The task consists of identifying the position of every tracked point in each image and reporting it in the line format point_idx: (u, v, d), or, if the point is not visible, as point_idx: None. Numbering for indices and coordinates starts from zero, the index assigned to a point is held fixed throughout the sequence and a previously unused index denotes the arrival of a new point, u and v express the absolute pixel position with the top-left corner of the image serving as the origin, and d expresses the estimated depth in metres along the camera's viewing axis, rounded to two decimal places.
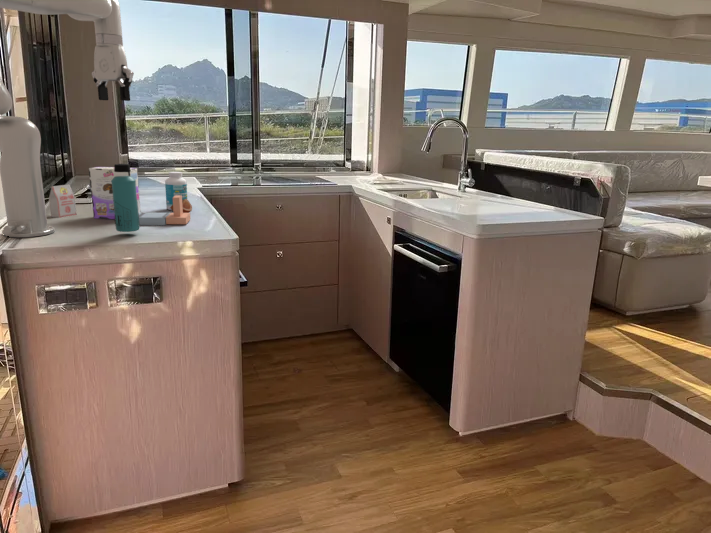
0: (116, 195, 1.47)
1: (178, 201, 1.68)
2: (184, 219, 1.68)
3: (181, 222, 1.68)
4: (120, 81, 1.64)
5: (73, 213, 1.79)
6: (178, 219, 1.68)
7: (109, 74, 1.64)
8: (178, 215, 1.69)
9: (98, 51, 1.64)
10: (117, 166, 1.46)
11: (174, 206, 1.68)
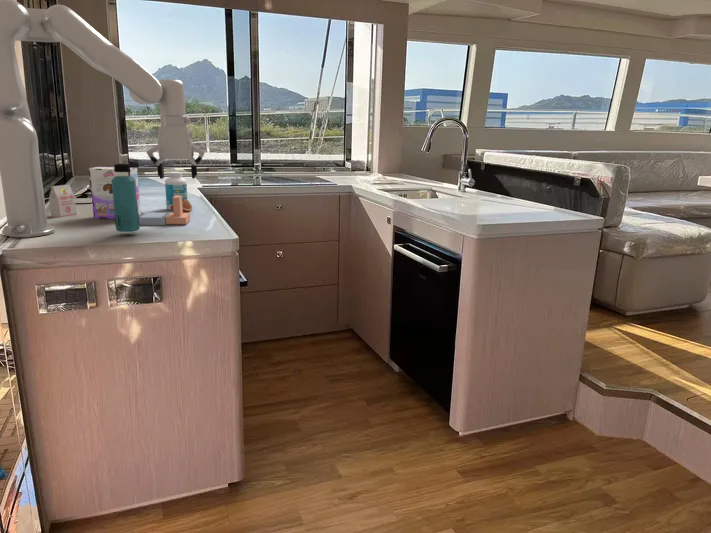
0: (116, 195, 1.47)
1: (178, 201, 1.68)
2: (184, 219, 1.68)
3: (181, 222, 1.68)
4: None
5: (73, 213, 1.79)
6: (178, 219, 1.68)
7: None
8: (178, 215, 1.69)
9: None
10: (117, 166, 1.46)
11: (174, 206, 1.68)
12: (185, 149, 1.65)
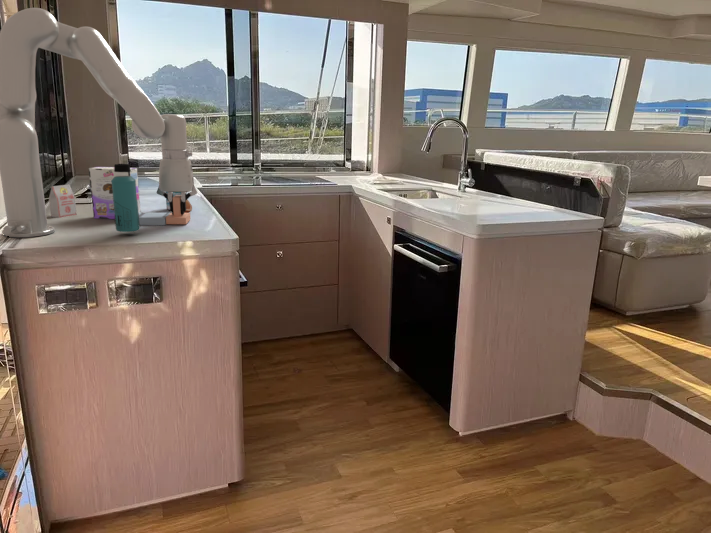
0: (116, 195, 1.47)
1: (178, 201, 1.68)
2: (184, 219, 1.68)
3: (181, 222, 1.68)
4: None
5: (73, 213, 1.79)
6: (178, 219, 1.68)
7: None
8: (178, 215, 1.69)
9: None
10: (117, 166, 1.46)
11: (174, 206, 1.68)
12: (186, 182, 1.67)
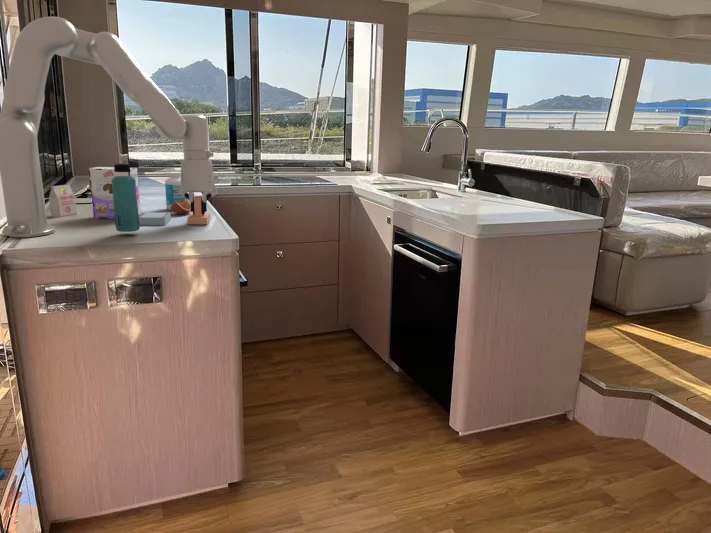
0: (116, 195, 1.47)
1: (199, 201, 1.69)
2: (205, 219, 1.69)
3: (202, 222, 1.69)
4: None
5: (73, 213, 1.79)
6: (199, 219, 1.69)
7: None
8: (199, 215, 1.70)
9: None
10: (117, 166, 1.46)
11: (195, 206, 1.69)
12: (207, 182, 1.68)
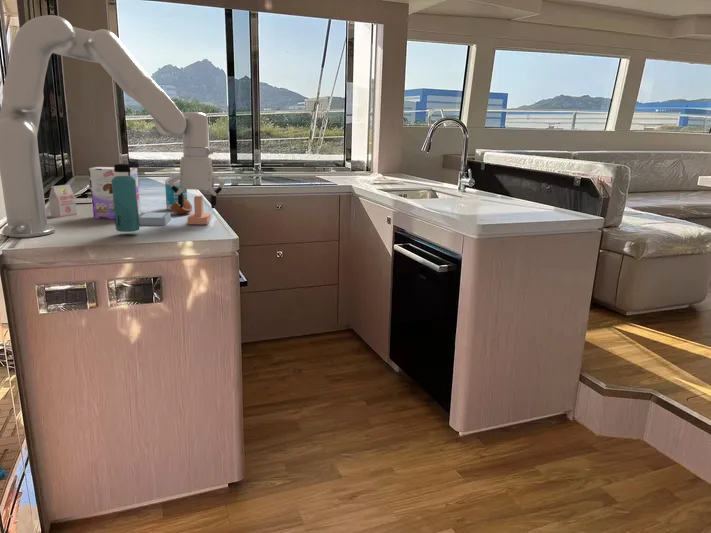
0: (116, 195, 1.47)
1: (199, 201, 1.69)
2: (205, 219, 1.69)
3: (202, 222, 1.69)
4: None
5: (73, 213, 1.79)
6: (199, 219, 1.69)
7: None
8: (199, 215, 1.70)
9: None
10: (117, 166, 1.46)
11: (195, 206, 1.69)
12: (206, 180, 1.68)
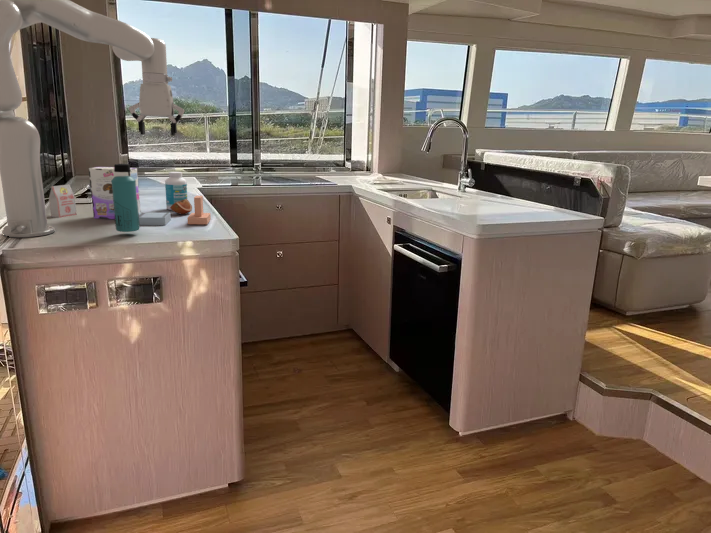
0: (116, 195, 1.47)
1: (199, 201, 1.69)
2: (205, 219, 1.69)
3: (202, 222, 1.69)
4: None
5: (73, 213, 1.79)
6: (199, 219, 1.69)
7: None
8: (199, 215, 1.70)
9: None
10: (117, 166, 1.46)
11: (195, 206, 1.69)
12: (165, 106, 1.72)
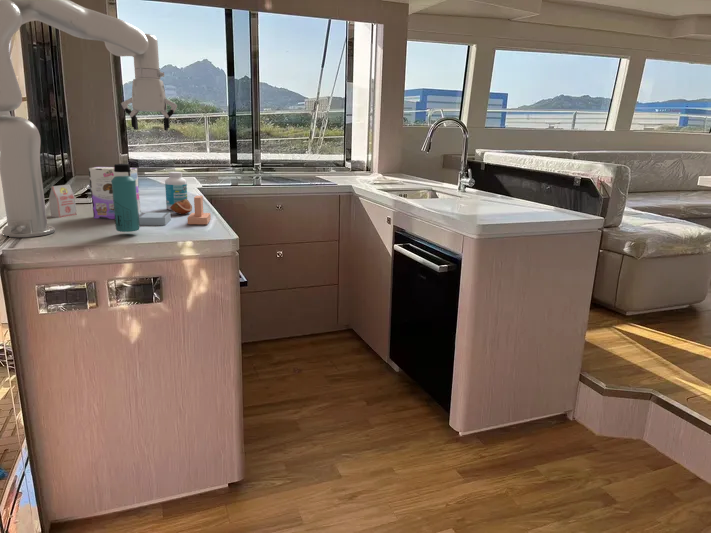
0: (116, 195, 1.47)
1: (199, 201, 1.69)
2: (205, 219, 1.69)
3: (202, 222, 1.69)
4: None
5: (73, 213, 1.79)
6: (199, 219, 1.69)
7: None
8: (199, 215, 1.70)
9: None
10: (117, 166, 1.46)
11: (195, 206, 1.69)
12: (158, 101, 1.74)
